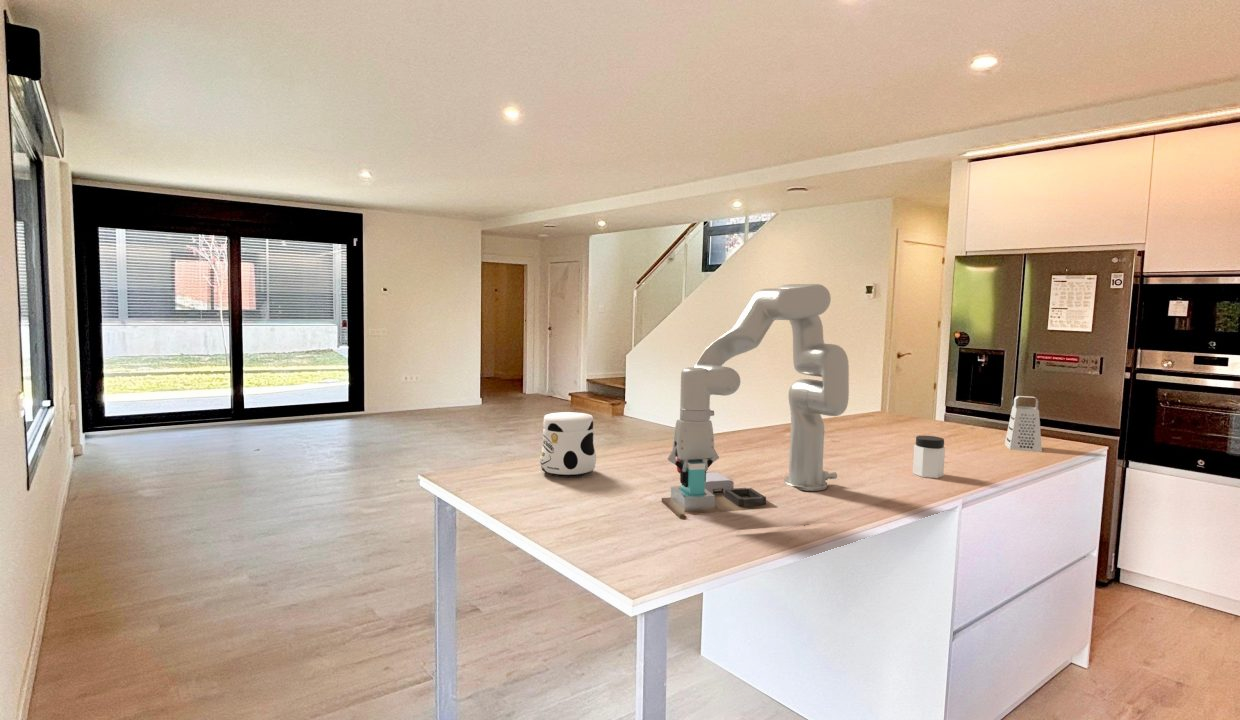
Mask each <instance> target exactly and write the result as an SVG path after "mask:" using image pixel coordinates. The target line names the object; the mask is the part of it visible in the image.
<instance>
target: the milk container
mask: <svg viewBox="0 0 1240 720" xmlns="http://www.w3.org/2000/svg"><path fill="white" fill-rule="evenodd" d="M542 421H543V423H542V428H543V429H542V440H543V441H542V447H541V451H540V455H539V463H540V468H541V470H542V471H543V472H545V474H547V475H550V476H554V477H559V478H560V477H562V478H576V477H582V476H586V475H588V474H590V473H592V472H593V471H594V469H595V468H596V462H597V454H596V449H595V445H594V434H595V433H594V432H595V430H594V417H593V415H592V414H589V413H584V412H572V411H570V412H569V411H567V412H563V411H562V412H551V413H548V414H545V415H543V420H542Z"/></svg>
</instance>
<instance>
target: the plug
mask: <svg viewBox="0 0 1240 720" xmlns="http://www.w3.org/2000/svg"><path fill="white" fill-rule="evenodd" d="M687 472H688V487H684V486H683V485H682V484H681V486H682V487H681V491H683V492H684V493H685V494H687V495H688V496H693V495H704V493H705V463H704V462H702V461H701V460H689V461H688V466H687Z"/></svg>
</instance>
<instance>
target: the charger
mask: <svg viewBox="0 0 1240 720" xmlns="http://www.w3.org/2000/svg"><path fill="white" fill-rule="evenodd" d="M734 484H735V483H734V481H733V480H731V479H730V478H728V477H726V476H724V475H723V474H721V473H720V472H706V482H705V489H706V490H707V491H709V492H710V493H712V494H713V495H714V492H715V493H716V492H722V494H725V490H728V489H735V488H734Z"/></svg>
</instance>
